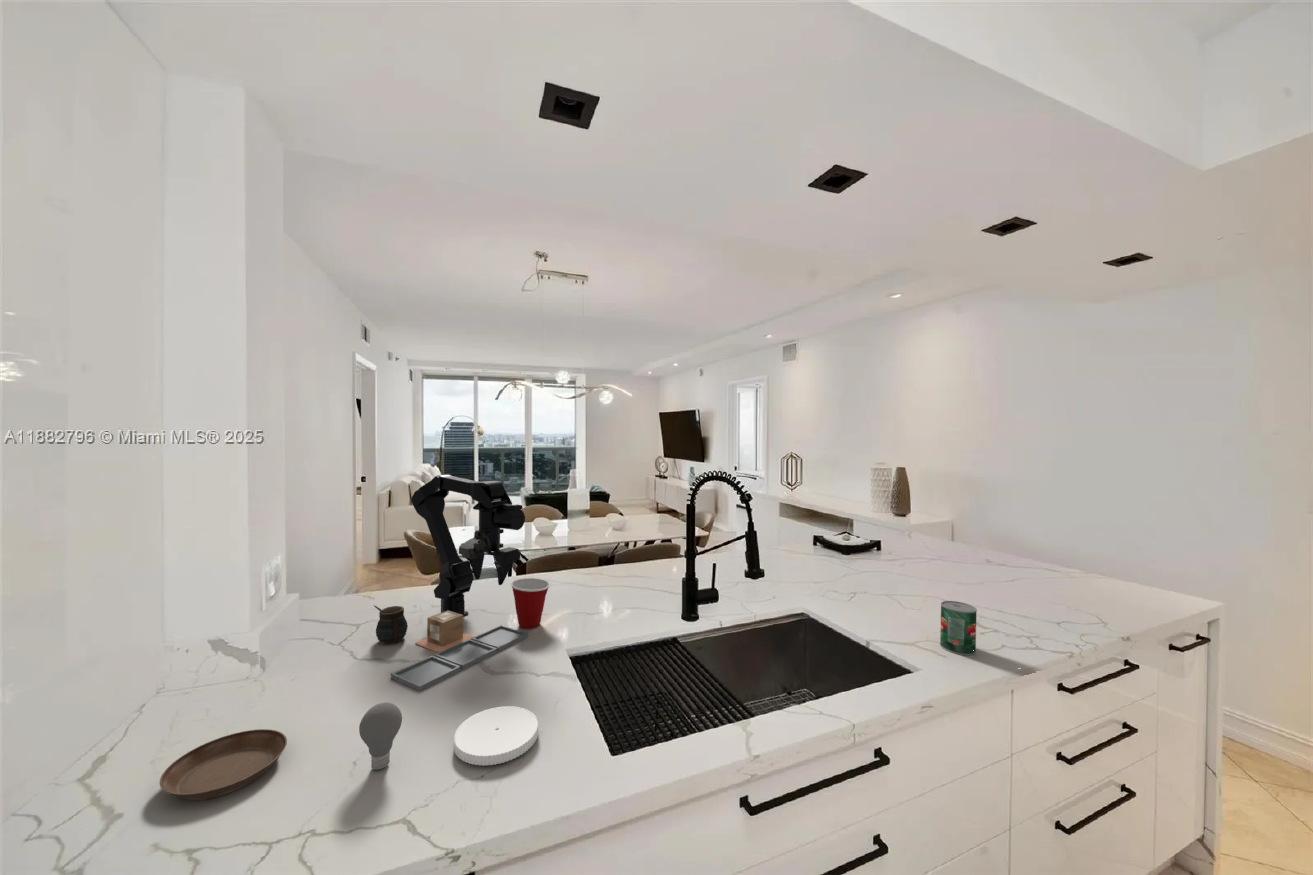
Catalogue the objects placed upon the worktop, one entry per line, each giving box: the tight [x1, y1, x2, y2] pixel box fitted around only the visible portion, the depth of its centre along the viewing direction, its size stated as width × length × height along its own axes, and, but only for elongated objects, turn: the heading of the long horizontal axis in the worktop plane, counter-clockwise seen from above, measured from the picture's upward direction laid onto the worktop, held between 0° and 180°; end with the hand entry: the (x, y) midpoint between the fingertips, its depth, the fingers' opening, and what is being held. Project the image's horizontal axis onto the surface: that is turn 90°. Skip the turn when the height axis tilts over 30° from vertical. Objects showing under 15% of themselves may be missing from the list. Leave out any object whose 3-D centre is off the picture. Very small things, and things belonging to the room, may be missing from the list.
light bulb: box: [358, 701, 403, 770], centre depth 77 cm, size 6×6×10 cm
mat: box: [414, 632, 474, 653], centre depth 123 cm, size 10×10×1 cm
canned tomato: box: [939, 600, 978, 656], centre depth 124 cm, size 8×8×11 cm
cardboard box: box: [426, 610, 464, 647], centre depth 123 cm, size 6×6×6 cm
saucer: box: [159, 728, 288, 801], centre depth 75 cm, size 15×15×3 cm
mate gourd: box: [373, 604, 409, 645], centre depth 122 cm, size 7×8×10 cm
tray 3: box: [471, 624, 529, 652], centre depth 124 cm, size 10×10×1 cm
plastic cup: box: [510, 577, 552, 630], centre depth 134 cm, size 11×11×12 cm
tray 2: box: [433, 639, 498, 671], centre depth 115 cm, size 10×10×1 cm
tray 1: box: [390, 655, 462, 692], centre depth 106 cm, size 10×10×1 cm
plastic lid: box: [453, 705, 539, 767], centre depth 84 cm, size 14×14×2 cm
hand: (488, 582), depth 133 cm, fingers open, 9 cm apart
